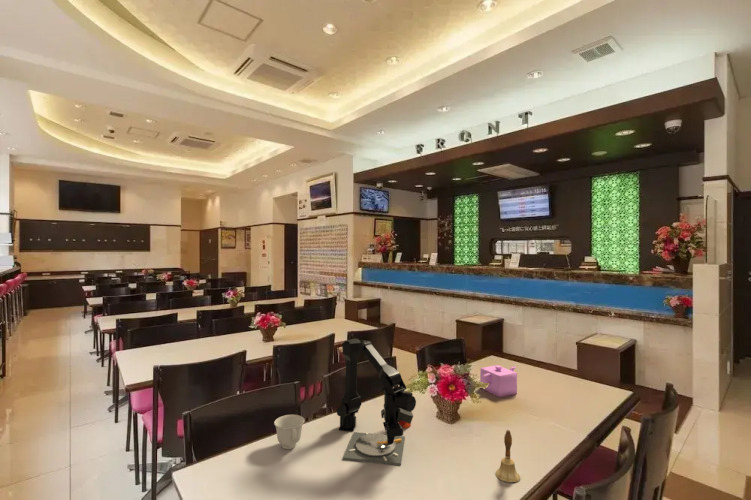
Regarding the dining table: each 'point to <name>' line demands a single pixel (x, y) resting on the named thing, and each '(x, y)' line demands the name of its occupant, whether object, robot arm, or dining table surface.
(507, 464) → the hand bell
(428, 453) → the dining table surface
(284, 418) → the teacup
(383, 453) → the dial
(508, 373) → the teapot
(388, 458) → the grey dial base plate
